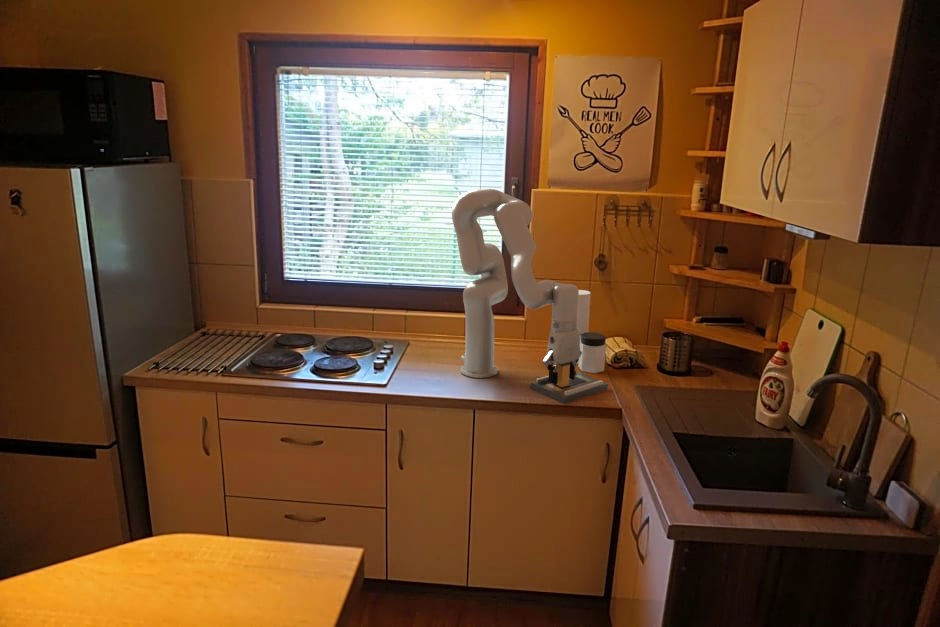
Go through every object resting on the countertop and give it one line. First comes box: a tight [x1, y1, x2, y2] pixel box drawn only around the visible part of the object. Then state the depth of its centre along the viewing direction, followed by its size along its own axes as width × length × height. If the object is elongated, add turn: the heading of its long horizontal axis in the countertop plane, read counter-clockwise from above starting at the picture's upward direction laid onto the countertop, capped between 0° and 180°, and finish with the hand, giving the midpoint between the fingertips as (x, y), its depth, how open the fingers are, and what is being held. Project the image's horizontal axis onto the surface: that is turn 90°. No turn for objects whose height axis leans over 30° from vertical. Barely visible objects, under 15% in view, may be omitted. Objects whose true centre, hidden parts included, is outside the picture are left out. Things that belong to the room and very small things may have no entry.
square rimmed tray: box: [535, 369, 604, 395], centre depth 197 cm, size 14×16×1 cm
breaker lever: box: [553, 362, 570, 387], centre depth 194 cm, size 4×3×8 cm
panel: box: [529, 370, 609, 405], centre depth 198 cm, size 15×19×2 cm
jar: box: [578, 331, 607, 374], centre depth 214 cm, size 9×8×12 cm
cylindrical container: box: [576, 289, 591, 365], centre depth 221 cm, size 7×7×25 cm
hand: (561, 380), depth 195 cm, fingers open, 6 cm apart
